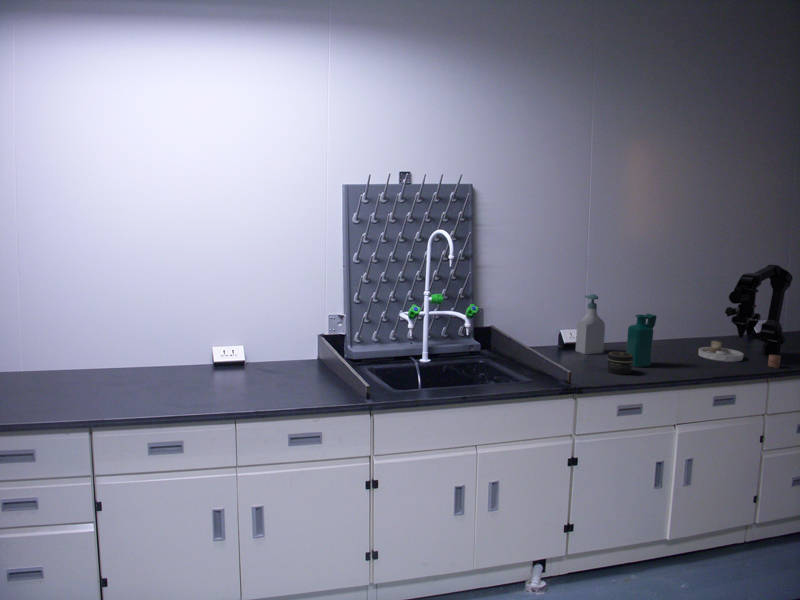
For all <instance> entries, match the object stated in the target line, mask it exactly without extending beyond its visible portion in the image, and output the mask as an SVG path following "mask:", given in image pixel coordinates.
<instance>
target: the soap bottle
mask: <svg viewBox="0 0 800 600" xmlns="http://www.w3.org/2000/svg"><path fill="white" fill-rule="evenodd" d="M584 298H587V299H589V300H591V301H590V302H589V303H588V304H587V310H586V314H585V316H584V317H582V319H580V320H578V322H577V326H576V339H575V352H576V353H580V354H582V355H595V354H603V353H604V348H605V347H604V346H605V335H606V334H605V332H606V324H605V322H604V320H603V319H601V317H600V316H599V315H598V312H597V309H598V307H597V306H598V305H597V303H595V300H599V296H598V295H597V294H593V293H591V294H589V295H584Z"/></svg>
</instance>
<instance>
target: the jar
mask: <svg viewBox="0 0 800 600" xmlns="http://www.w3.org/2000/svg"><path fill="white" fill-rule="evenodd" d="M606 362H607V363H606V369H607V371H608V373H610V374H613V375H618V376H619V375H622V376H624V375H631V373H632V371H633V366H632V365H633V355H632V354H629V353H626V351H625V352H624V351H610V352H608V353H607V361H606Z"/></svg>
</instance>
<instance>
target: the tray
mask: <svg viewBox="0 0 800 600" xmlns="http://www.w3.org/2000/svg"><path fill="white" fill-rule="evenodd" d="M710 350H711V346H705V347H699V348H698V354H697V355H698V357H701V358H704V359H706V360H712V361H717V362H727V363H729V362H730V363H734V362H735V363H737V362H742V361H744V360H743V359H744V357H745V356H744V353H743V352H741V351H739V350H736V349H731V348H725V347H721V351H716V353H713V352H710Z"/></svg>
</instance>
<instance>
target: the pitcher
mask: <svg viewBox="0 0 800 600" xmlns="http://www.w3.org/2000/svg"><path fill="white" fill-rule="evenodd" d="M634 317H635V318H636V323H635V324H632V325H629V326H628V328H627V340H626V351H625V353H629V354H632V355H633V365H632V367H634V368H646V367H648V368H649V367H650V366H651V365H652V355H653V343H654V327H655V326H656V322H657V315H655V314H652V313H646V314H636V315H634Z"/></svg>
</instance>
